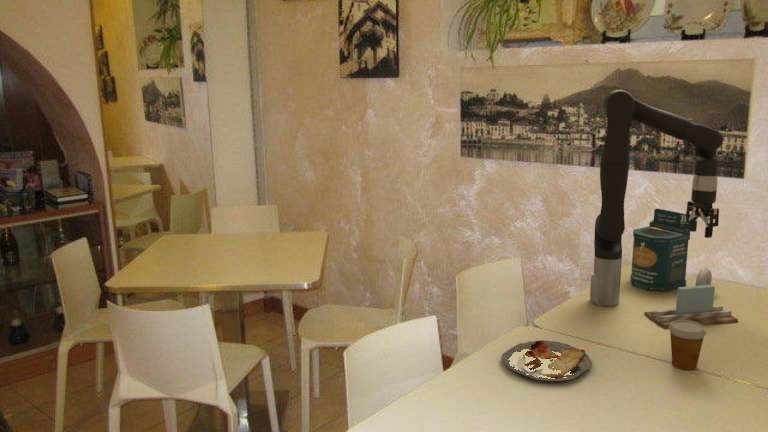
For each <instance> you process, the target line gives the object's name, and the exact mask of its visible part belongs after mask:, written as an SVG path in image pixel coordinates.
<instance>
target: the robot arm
mask: <svg viewBox="0 0 768 432" xmlns="http://www.w3.org/2000/svg"><path fill="white" fill-rule="evenodd" d="M602 105H603V110H604V111H605V112H606V135H605V139H604V143H603V148H602V150H601V155H600V156H601V157H600V163H599V164H600V165H599V166H600V168H599V185H600V194H601V208H600V213H599V214H598V215H597V217H596V218H595V219H596V220H595V223H594V241H593V242H594V243H593V244H594V245H593V248H594V258H593V274H591V277H590V294H589V300H590V301H591V302H592V303H594V304H595V305H596V306H602V307H603V306H604V307H613V306H614V307H615V306H618V305H619V304H620V298H621V297H620V293H621V275H622V259H623V246H622V244H623V243H622V241H623V240H622V238H623V234H624V232H625V229H626V228H625V227H626V226H625V225H626V223H625V200H626V199H625V198H626V192H627V187H628V178H629V169H630V168H629V167H630V149H631V147H630V145H631V144H630V142H631V141H630V136H631V135H630V134H631V126H632V125H631V124H632V121H634V122H638V123H640V124H643V125H645V126H647V127H650V128H651V129H654V130H656V131H658V132H660V133H663V134H665V135H667V136H669V137H672V138H675V139H677V140H680V141H684V142H687V143H689V144H690V145H693V146H694V158H695V160H694V162H695V163H694V170H693V178H692V183H691V185H692V186H691V196H690V200H689V201H687V203H686V211H685V214H686V218H689V221H690V226H689V231H690V233H692V232H696V231H697V227H698V226H697V225H698V224H697V223H698V219H699V218H700V219H702V222H704V225H705V229H704V238H706V239H710V238H712V237H713V232H714V227H718V226H719V220H720V209H719V208H717V207H716V208H713V204H715V203H716V202H717V193H718V192H717V189H718V172H719V171H718V169H719V160H718V158H717V150H718V149H719V148H721V146H722V145H723V144H724V137H723V135H722V133H721V132H720V131H718V130H717V129H713V128H711V127H707V126H705V125H701V124H699V123H697V122H695V121H693V120H690V119H688V118H686V117H683V116H681V115H678V114H675V113H672V112H669V111H666V110H663V109H660V108H656V107H655V106H654V107H653V106H651V105H649V104H646V103H643V102H641V101H640V100H637V99H636V98H635V97H633V94H631V93H630V92H628V91H627V90H626V91H625V90H623V89H615V90H613V91H610V92H609V93H607V94H606V95H605V97H604V98H603V103H602Z"/></svg>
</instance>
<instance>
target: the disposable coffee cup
mask: <svg viewBox="0 0 768 432" xmlns="http://www.w3.org/2000/svg"><path fill="white" fill-rule="evenodd" d="M668 330H669V333H670V346H671V348H670V349H671V364H672V366H673V367H675V368H676V369H679V370H684V371H694V370H696V369H697V367H698V362H699V358H700V354H701V350H702V346H703V341H704V338H705V337H706V335H707V331H706V328H705V325H701V324H699V323H697V322H694V321H688V320H676V321H673V322H671V325H670V326H669V328H668Z"/></svg>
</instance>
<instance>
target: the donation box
mask: <svg viewBox="0 0 768 432" xmlns="http://www.w3.org/2000/svg"><path fill="white" fill-rule="evenodd" d="M689 226H690V221H689V218H686V213H682V212H677V211H673V210H667V209H664V208H663V209H662V208H655V209H654V211H653V219H652V220H650V221H649V226H644V227H641V228H640V227H639V228H636V229H633V231H632V236H633V245H632V258H631V260H632V261H631V272H630V273H631V274H630V276H629V277H630V278H629V279H630V280H629V282H630V285H631V286H632V287H634V288H635V287H636V288H639V289H641V290H645V291H646V292H659V293H668V292H671V291H674V290H678V287H687V280H686V275H687V274H686V273H687V272H686V271H687V262H688V249H689V241H690V240H691V231H689Z"/></svg>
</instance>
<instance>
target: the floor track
mask: <svg viewBox="0 0 768 432" xmlns="http://www.w3.org/2000/svg"><path fill="white" fill-rule="evenodd" d="M732 312H733V311H732V310H731V309H729V310H728V309H727V310H724V306H722V305H713V312H703V313H691V314H679V315H676V308H675V309H665V310H651V311H644V314H643V315H644V316H645V317H647V318H648V319H650V321H653V322H654V323H655V324H657V325H659V326H660V327H661V328H663V329H669V326H670V325H671V322H673V321H676V320H688V321H694V322H697V323H699V324H701V325H703V326H707V325H709V324H711V325H717V324H718V325H720V324H721V325H722V324H730V323H731V324H732V323H738V322H739V320H738V318H736V317H735V316H733V315H732V314H733V313H732ZM709 326H710V325H709Z"/></svg>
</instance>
